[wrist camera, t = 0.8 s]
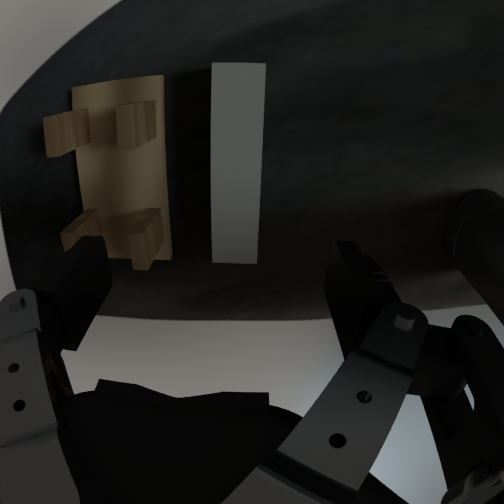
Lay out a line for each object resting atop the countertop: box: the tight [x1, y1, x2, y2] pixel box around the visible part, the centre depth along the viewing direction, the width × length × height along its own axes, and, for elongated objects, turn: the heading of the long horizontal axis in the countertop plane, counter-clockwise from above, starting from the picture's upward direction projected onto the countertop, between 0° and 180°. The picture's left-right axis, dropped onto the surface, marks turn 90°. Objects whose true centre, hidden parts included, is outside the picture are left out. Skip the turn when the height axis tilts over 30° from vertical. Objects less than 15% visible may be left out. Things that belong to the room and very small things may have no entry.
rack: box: [43, 75, 173, 270], centre depth 23 cm, size 8×16×6 cm, turn 178°
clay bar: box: [211, 63, 266, 264], centre depth 24 cm, size 4×15×4 cm, turn 178°
